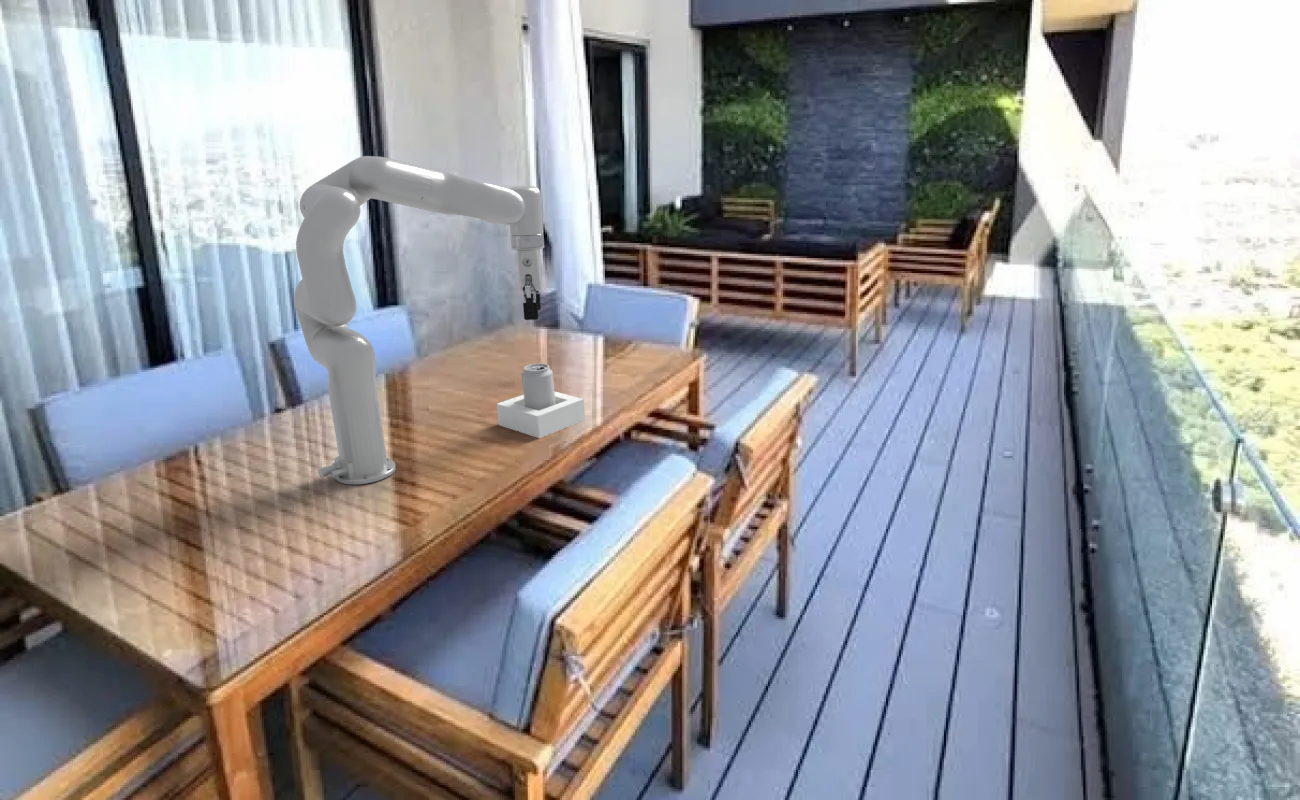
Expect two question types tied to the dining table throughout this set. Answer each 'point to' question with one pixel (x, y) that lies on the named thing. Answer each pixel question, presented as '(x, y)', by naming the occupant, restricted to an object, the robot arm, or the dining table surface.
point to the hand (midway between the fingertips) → (532, 314)
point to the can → (538, 386)
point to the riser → (541, 415)
